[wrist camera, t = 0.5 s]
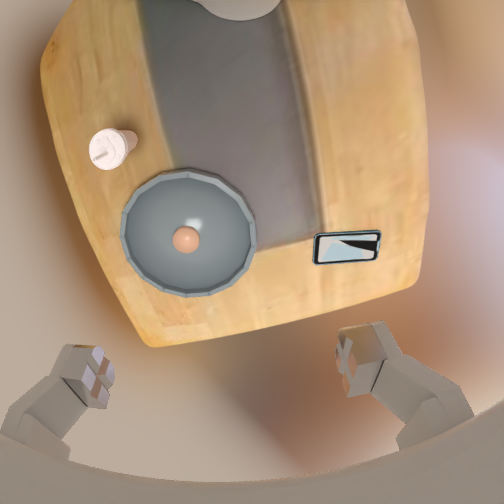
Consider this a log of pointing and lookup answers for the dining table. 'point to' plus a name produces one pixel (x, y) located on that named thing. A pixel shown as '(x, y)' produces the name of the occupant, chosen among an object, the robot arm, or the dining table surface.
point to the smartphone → (346, 247)
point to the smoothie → (111, 147)
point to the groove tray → (188, 233)
